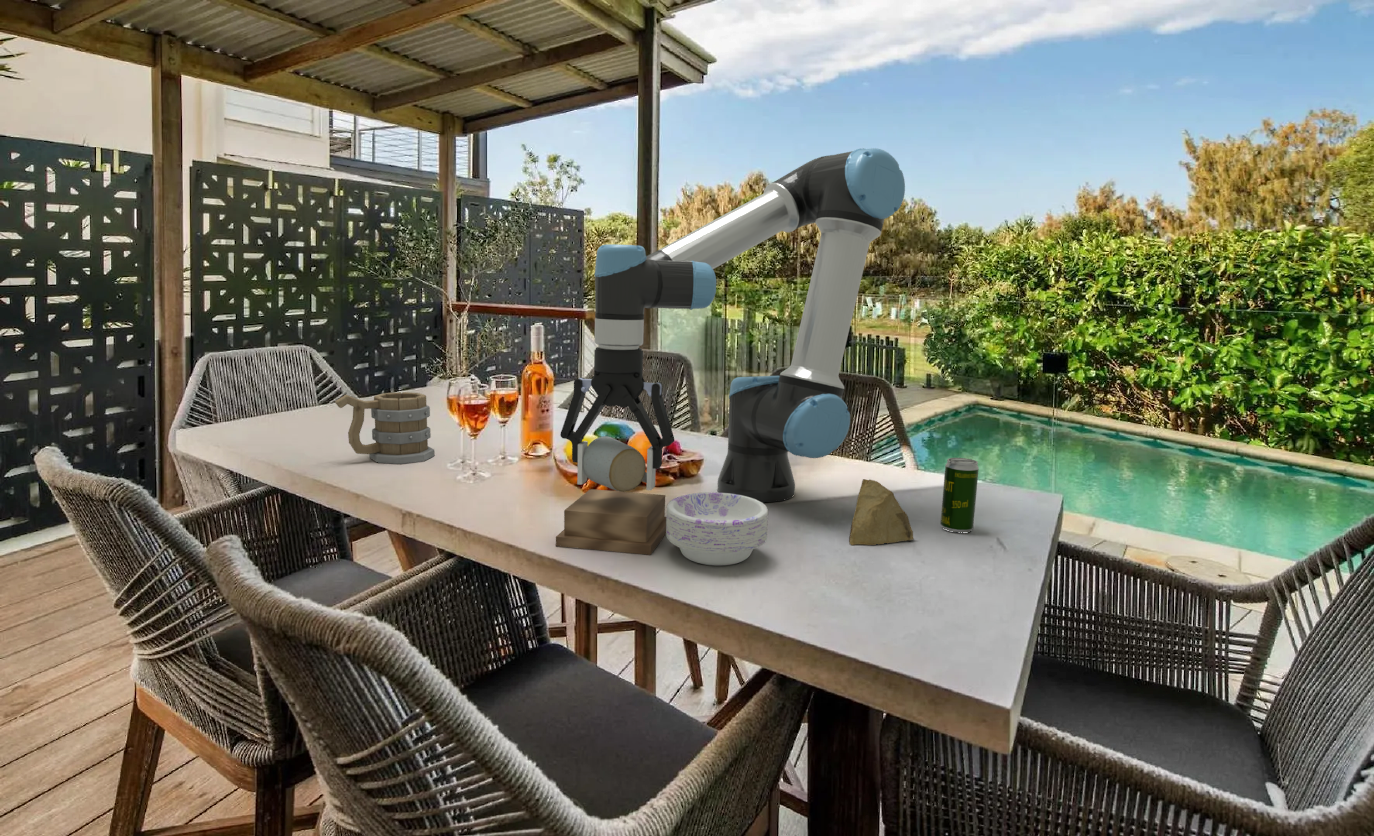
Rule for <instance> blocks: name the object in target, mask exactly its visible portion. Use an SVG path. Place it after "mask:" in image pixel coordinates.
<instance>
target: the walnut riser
mask: <svg viewBox="0 0 1374 836" xmlns="http://www.w3.org/2000/svg"><path fill="white" fill-rule="evenodd" d="M563 510H564V511H563V513H564V514H563V515H564V516H563V518H564V520H563V523H564V525H563V527H564V528H563V530H562V531H561V532H559V533H558V534H557V535H556V536H555V546H556V547H560V548H561V547H563V548H573V549H581V550H582V549H583V550H584V549H585V550H595V551H605V552H613V553H614V552H615V553H616V552H617V553H626V554H638V555H639V554H640V555H646V556H647V555H649V556H651V555H652V554H653V553H654V552H655V550H656V548H657V547H658V545H659V544H660V542H662V540H663V539H664V537H665V536H666V521H667V520H666V519H667V517H666V516H665V515H666V494H656V493H655V494H654V493H644V492H630V491H625V492H621V491H616V490H604V489H591V488H589V489H588V490H587V491H586V492H585V493H583V494H582V495H581V496H580V497H578V498H577V499H576V500H575V501H574V502H573V503H571V504H570V505H569V506H568V507H566V508H565V509H563Z"/></svg>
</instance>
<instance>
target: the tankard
mask: <svg viewBox="0 0 1374 836" xmlns="http://www.w3.org/2000/svg"><path fill="white" fill-rule="evenodd" d="M334 402H335V404H336V406H337V407H338V408H340V409H343V408H344V407H345V406H347V405H349V406H351V407H352V420H351V423H350V426H349V429H348V432H347V434H348V435H347V436H348V437H347V438H348V443H349V445H350V447H351V448H352V450H353V451H354V452H355V454H357V455H369V459H370V460H372V459H373V461H374V462H376V463H377V462H378V463H377V464H389V465H390V464H391V465H406V464H415V463H423V461H424V462H426V461H428V460H429V459H431V458H434V456H435V454H436V453H435V448H433V447H431V446H429V444H428V442H429V440H428V439H431V437H432V436H431V435H432V433H431V428H430V427H429V426H428V418H430V417H431V409H430V408H431V407H430V406H429V405H428V404H427V395H426V394H423V393H420V392H408V391H407V392H406V391H403V392H401V391H399V392H384V393H380V394H377V395H374V396H373V400H362V399H359V398H355V397H352V396H350V395H348V394H344V395H343V396H342V397H340V398H338V399H336V400H335V401H334ZM365 410H370V413H371V418H372V419H374V428H372V429H371V435H372V437H371V438H372V439H371V440H373V441H375V442H373V443H369V444H363V443H362V441H361V438H360V434H361V431H362V427H363V425H364V422H365Z"/></svg>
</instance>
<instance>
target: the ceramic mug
mask: <svg viewBox="0 0 1374 836" xmlns="http://www.w3.org/2000/svg"><path fill="white" fill-rule="evenodd" d="M645 460H646V459H645V458H644V456H643V454H642V453H641V452H639V451H638V449H636V448H635V447H633V446H631V445H628V444H627V443H624V442H622V441H620V440H617V439H616V438H614V437H611V436H599V437H596V438H595V439H594V440H592V441H591V442H590V443H589V444H588V447H587V448H586V450H585V452H584V456H583V469H584V472H585V474H586V476H587V479H589V480H590V481H591V482H594V483H596V484H598V485H601V486H604V487H606V488H609V489H611V490H612V491H620V492H630V491H632V490H634V489H635V488H637V487H638V486H639V485H640V484H641V482H643V483H644V484H645V483H646V484H647V463H646V461H645Z"/></svg>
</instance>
